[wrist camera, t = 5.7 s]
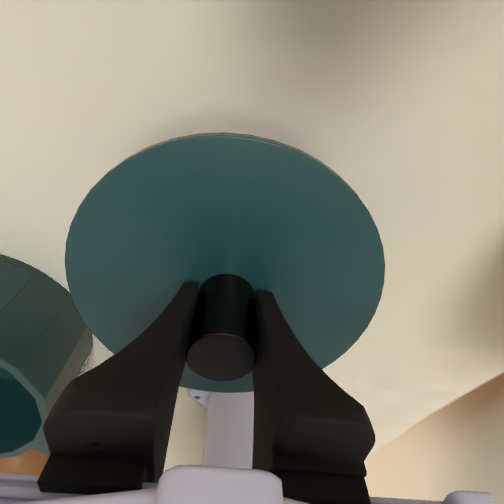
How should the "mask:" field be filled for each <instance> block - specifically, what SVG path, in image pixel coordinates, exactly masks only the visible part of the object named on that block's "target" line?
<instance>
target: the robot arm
mask: <svg viewBox="0 0 504 504" xmlns="http://www.w3.org/2000/svg"><path fill="white" fill-rule="evenodd" d="M198 291H199V283H191V282H184V283H183V284H182V285H181V287H180V289H179V290H178V292H177V293H176V295H175V296H174V298H173V299H172V300H171V302H170V303H169V304H168V305H167V306H166V308H165V309H164V310H163V311H162V313H161V314H160V315H159V316H158V317H157V318H156V319H155V320H154V321H153V322H152V323H151V324H150V325H149V326H148V327H147V328H146V329H145V330H144V331H143V332H142V333H141V334H140V335H139V336H138V337H136V338H135V339H134V340H133V341H132V342H130V343H129V344H128V345H127V346H125V347H124V348H123V349H122V350H120V351H119V352H118V353H116V354H115V355H113V356H112V357H110V358H109V359H107V360H106V361H104V362H103V363H101V364H100V365H98V366H97V367H95V368H93V369H92V370H90V371H88V372H86V373H84V374H83V375H81V376H79V377H77V378H75V379H73V380H71V381H70V382H69V383H68V385H67V386H66V387H65V389H64V390H63V392H62V393H61V394H60V396H59V397H58V399H57V400H56V402H55V403H54V405H53V407H52V409H51V411H50V413H49V415H48V417H47V419H46V421H45V423H44V425H43V432H44V435H45V438H46V442H47V445H48V448H49V451H50V456H49V458H48V460H47V462H46V464H45V466H44V468H43V470H42V472H41V474H40V476H39V475H24V474H8V473H0V504H496V503H495V501H494V499H493V497H492V495H491V494H490V493H488V492H477V491H454V492H452V493H450V494H449V495H447V497H446V498H445V499H444V501H443V502H442V501H426V500H410V499H395V498H379V497H369V494H368V490H367V487H366V483H365V479H364V477H365V476H366V469H365V465H364V460H365V459H366V457H367V456H368V454H369V452H370V451H371V449H372V448H373V446H374V443H375V434H374V431H373V428H372V425H371V422H370V420H369V417H368V415H367V413H366V411H365V408H364V406H362V405H361V404H360V403H359V402H357V401H356V400H355V399H354V398H352V397H351V396H350V395H349V394H347V393H346V392H345V391H344V390H342V389H341V388H340V387H339V386H338V385H337V384H336V383H335V382H334V381H333V380H332V379H330V378H329V377H328V376H327V374H326V373H325V372H324V371H323V370H322V369H321V368H320V367H319V366H318V365H317V364H316V363H315V362H314V360H313V359H312V358H311V357H310V356H309V354H308V353H307V352H306V350H305V349H304V348H303V346H302V345H301V344H300V342H299V341H298V339H297V338H296V336H295V335H294V333H293V331H292V330H291V328H290V326H289V325H288V323H287V321H286V319H285V318H284V316H283V314H282V312H281V310H280V308H279V306H278V304H277V302H276V299H275V297H274V295H273V293H272V292H267V291H259V290H258V293H257V298H256V339H257V362H256V365H255V367H254V369H253V370H252V375H253V388H254V391H253V392H241V393H221V392H208V391H200V390H194V389H189V390H188V395H189V396H190V397H191V398H192V399H194V400H195V401H196V402H198V403H199V404H200V405H202V406H203V407H204V408H206V409H207V419H206V428H205V437H204V445H203V454H202V463H201V465H180V466H175V467H173V468H170V469H168V470H166V471H165V472H163V469H164V464H165V458H166V452H167V447H168V441H169V435H170V430H171V425H172V419H173V414H174V408H175V403H176V398H177V393H178V388H179V384H180V381H181V377H182V374H183V370H184V367H185V363H186V351H187V346H188V341H189V336H190V331H191V326H192V322H193V317H194V313H195V308H196V303H197V298H198Z"/></svg>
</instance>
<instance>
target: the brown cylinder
mask: <svg viewBox="0 0 504 504" xmlns="http://www.w3.org/2000/svg"><path fill="white" fill-rule="evenodd" d="M48 458H49V456H47V455H45V454H43V453H41V452H39V451H37V450H35V449H31V450H29V451H27V452H25V453H23V454H21V455H19V456H15V457H9V458H2V459H0V473H8V474H24V475H39V476H40V474H41V472H42V470H43V468H44V466H45V464H46V462H47V460H48Z"/></svg>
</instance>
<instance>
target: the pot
mask: <svg viewBox="0 0 504 504" xmlns="http://www.w3.org/2000/svg"><path fill="white" fill-rule="evenodd" d="M91 344H92V332H91V330H90V329H89V327H88V326H87V325H86V323H85V322H84V320H83V318H82V317H81V315H80V313H79V312H78V310H77V308H76V306H75V303H74V301H73V299H72V296H71V295H70V294H69V293H68V292H67V291H66V290H65V289H64V288H63V287H62V286H60V285H59V284H58V283H57V282H55V281H54V280H53V279H51V278H50V277H48V276H47V275H45V274H44V273H42V272H40V271H38V270H37V269H35V268H33V267H31V266H29V265H27V264H24V263H22V262H20V261H17V260H15V259H12V258H9V257H6V256H3V255H0V459H2V458H9V457H15V456H19V455H21V454H23V453H25V452H27V451H29V450H31V449H35V450H37V451H39V452H41V453H43V454H45V455H47V456H50V451H49V448H48V445H47V442H46V438H45V435H44V432H43V425H44V423H45V421H46V419H47V417H48V415H49V413H50V411H51V409H52V407H53V405H54V403H55V402H56V400H57V399H58V397H59V396H60V394H61V393H62V392H63V390H64V389H65V387H66V386H67V385H68V383H69V382H70V381H71V380H73V379H75V378H77V376H78V374H79V372H80V370H81V368H82V366H83V364H84V362H85V360H86V359H87V357H88V355H89V353H90V350H91Z"/></svg>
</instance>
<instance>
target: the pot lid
mask: <svg viewBox="0 0 504 504" xmlns="http://www.w3.org/2000/svg"><path fill="white" fill-rule="evenodd" d="M65 268H66V278H67V282H68V286H69V290H70V294H71V296H72V299H73V301H74V303H75V306H76V308H77V310H78V312H79V313H80V315H81V317H82V318H83V320H84V322H85V323H86V325H87V326H88V327H89V329H90V330H91V331H92V332H93V334H94V335H95V336H96V337H97V338H98V339H99V340H100V341H101V342H102V343H103V344H104V345H105V346H106V347H107V348H108V349H109V350H110V351H111V352H113V353H114V354H116V353H118V352H119V351H120V350H122V349H123V348H124V347H125V346H127V345H128V344H129V343H130V342H132V341H133V340H134V339H135V338H136V337H138V336H139V335H140V334H141V333H142V332H143V331H144V330H145V329H146V328H147V327H148V326H149V325H150V324H151V323H152V322H153V321H154V320H155V319H156V318H157V317H158V316H159V315H160V314H161V313H162V311H163V310H164V309H165V308H166V306H167V305H168V304H169V303H170V302H171V300H172V299H173V298H174V296H175V295H176V293H177V292H178V290H179V289H180V287H181V285H182V284H183V283H184V282H191V283H199V291H198V298H197V303H196V308H195V313H194V317H193V322H192V326H191V331H190V336H189V341H188V346H187V351H186V363H185V367H184V370H183V374H182V377H181V381H180V384H179V386H180V387H185V388H190V389H194V390H200V391H208V392H221V393H241V392H253V391H254V388H253V375H252V370H253V369H254V367H255V365H256V362H257V339H256V298H257V293H258V290H259V291H267V292H272V293H273V295H274V297H275V299H276V302H277V304H278V306H279V308H280V310H281V312H282V314H283V316H284V318H285V319H286V321H287V323H288V325H289V326H290V328H291V330H292V331H293V333H294V335H295V336H296V338H297V339H298V341H299V342H300V344H301V345H302V346H303V348H304V349H305V350H306V352H307V353H308V354H309V356H310V357H311V358H312V359H313V360H314V362H315V363H316V364H317V365H318V366H319V367H320V368H321V369H323V368H325V367H326V366H328V365H329V364H331V363H332V362H334V361H335V360H336V359H338V358H339V357H340V356H341V355H343V354H344V353H345V352H346V351H347V350H348V349H349V348H350V347H351V346H352V345H353V344H354V343H355V342H356V341H357V340H358V339H359V337H360V336H361V335H362V333H363V332H364V331H365V329H366V328H367V327H368V325H369V323H370V321H371V319H372V318H373V316H374V314H375V312H376V309H377V306H378V304H379V301H380V299H381V294H382V289H383V285H384V273H385V261H384V253H383V246H382V243H381V239H380V236H379V233H378V229H377V227H376V225H375V223H374V221H373V219H372V217H371V215H370V213H369V211H368V210H367V208H366V207H365V205H364V204H363V203H362V201H361V200H360V198H359V197H358V196H357V194H356V193H355V191H354V190H353V189H352V188H351V187H350V186H349V185H348V184H347V183H346V182H345V181H344V180H343V179H342V178H341V177H340V176H339V175H338V174H337V173H335V172H334V171H333V170H331V169H330V168H329V167H327V166H326V165H325V164H323V163H322V162H321V161H319V160H317V159H315V158H314V157H312V156H310V155H308V154H306V153H304V152H303V151H301V150H299V149H296V148H294V147H291V146H288V145H286V144H283V143H280V142H278V141H275V140H270V139H266V138H262V137H257V136H253V135H246V134H235V133H204V134H194V135H189V136H183V137H178V138H173V139H170V140H167V141H164V142H161V143H158V144H155V145H152V146H149V147H147V148H145V149H143V150H141V151H140V152H138V153H136V154H134V155H132V156H130V157H128V158H127V159H125V160H124V161H122V162H121V163H120V164H118V165H117V166H116V167H114V168H113V169H111V170H110V171H109V172H108V173H107V174H106V175H105V176H104V177H103V178H102V179H101V180H100V181H99V182H98V183H97V184H96V185H95V186H94V187H93V188H92V189H91V190H90V192H89V193H88V194H87V196H86V197H85V199H84V200H83V202H82V203H81V204H80V206H79V208H78V210H77V212H76V214H75V216H74V219H73V221H72V223H71V226H70V230H69V234H68V237H67V241H66V252H65Z"/></svg>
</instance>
